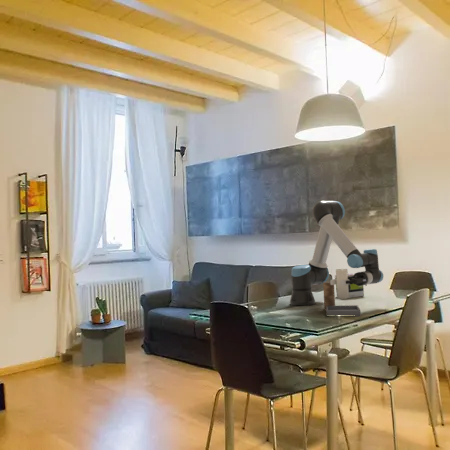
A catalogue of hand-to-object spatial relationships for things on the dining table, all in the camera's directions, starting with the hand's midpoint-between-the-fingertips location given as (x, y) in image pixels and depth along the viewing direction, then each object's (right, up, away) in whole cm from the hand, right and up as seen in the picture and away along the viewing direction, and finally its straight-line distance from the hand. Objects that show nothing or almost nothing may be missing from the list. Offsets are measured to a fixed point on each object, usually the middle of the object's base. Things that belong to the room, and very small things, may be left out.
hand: (336, 282), depth 261 cm
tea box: (+24, -17, +67) cm, 73 cm away
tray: (+4, -17, +3) cm, 18 cm away
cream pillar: (+4, -8, +3) cm, 10 cm away
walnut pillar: (+1, -17, +20) cm, 27 cm away
